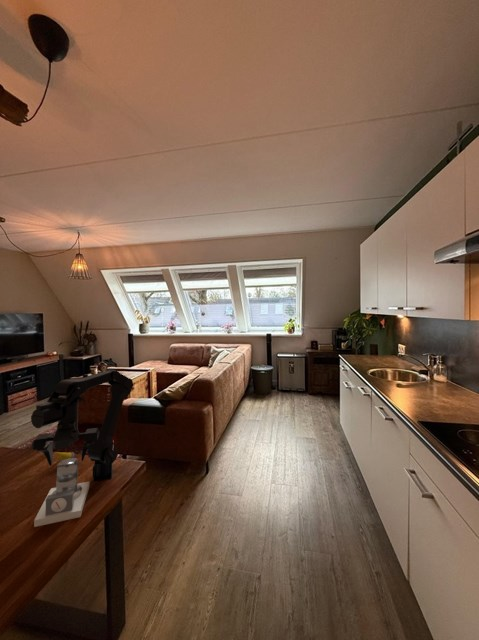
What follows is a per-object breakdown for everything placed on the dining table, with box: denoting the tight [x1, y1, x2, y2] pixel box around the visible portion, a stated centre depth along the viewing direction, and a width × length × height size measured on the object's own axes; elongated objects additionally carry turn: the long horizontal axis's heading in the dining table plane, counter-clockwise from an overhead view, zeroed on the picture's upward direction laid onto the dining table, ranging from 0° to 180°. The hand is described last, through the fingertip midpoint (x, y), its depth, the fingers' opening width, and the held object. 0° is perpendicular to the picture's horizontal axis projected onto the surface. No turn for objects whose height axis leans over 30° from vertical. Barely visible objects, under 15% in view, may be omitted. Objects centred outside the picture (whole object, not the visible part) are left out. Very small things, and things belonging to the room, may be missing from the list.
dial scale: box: [33, 481, 91, 528], centre depth 87 cm, size 12×16×7 cm
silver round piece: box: [55, 476, 78, 494], centre depth 89 cm, size 6×6×5 cm
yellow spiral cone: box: [54, 451, 75, 462], centre depth 112 cm, size 5×5×10 cm
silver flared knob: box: [56, 457, 79, 482], centre depth 90 cm, size 6×6×5 cm
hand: (67, 462), depth 89 cm, fingers open, 9 cm apart
